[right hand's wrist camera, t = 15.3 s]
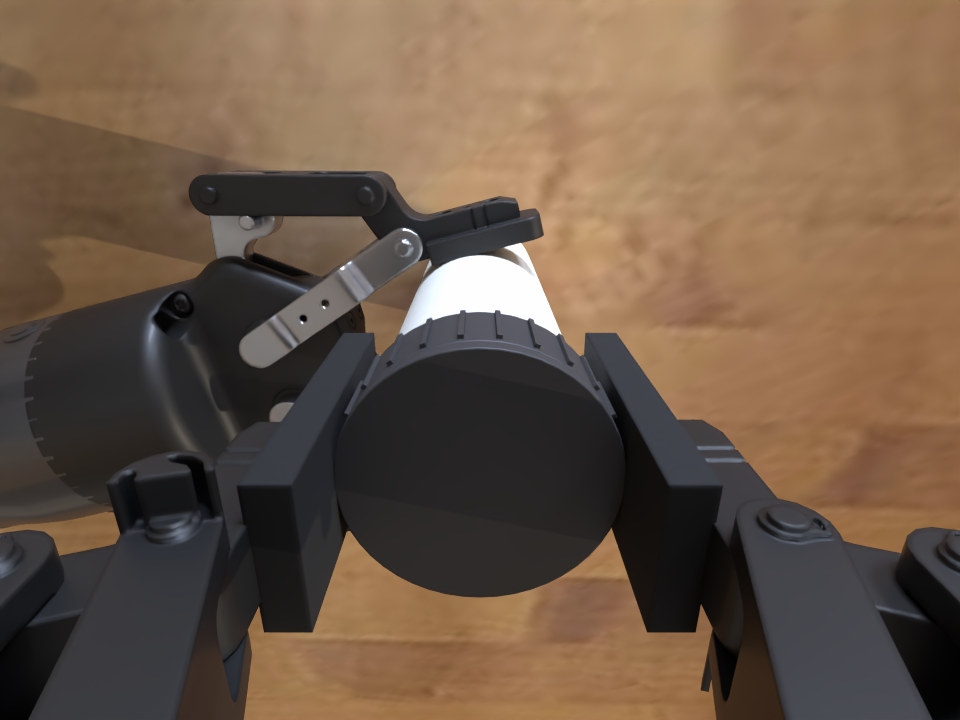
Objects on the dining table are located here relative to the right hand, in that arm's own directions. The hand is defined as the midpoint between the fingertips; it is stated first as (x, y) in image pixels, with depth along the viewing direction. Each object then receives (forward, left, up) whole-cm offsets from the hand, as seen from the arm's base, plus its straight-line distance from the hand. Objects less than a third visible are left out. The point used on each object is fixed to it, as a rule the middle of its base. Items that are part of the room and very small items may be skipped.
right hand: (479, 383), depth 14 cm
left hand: (-1, +2, -6) cm, 6 cm away
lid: (0, 0, +4) cm, 4 cm away
